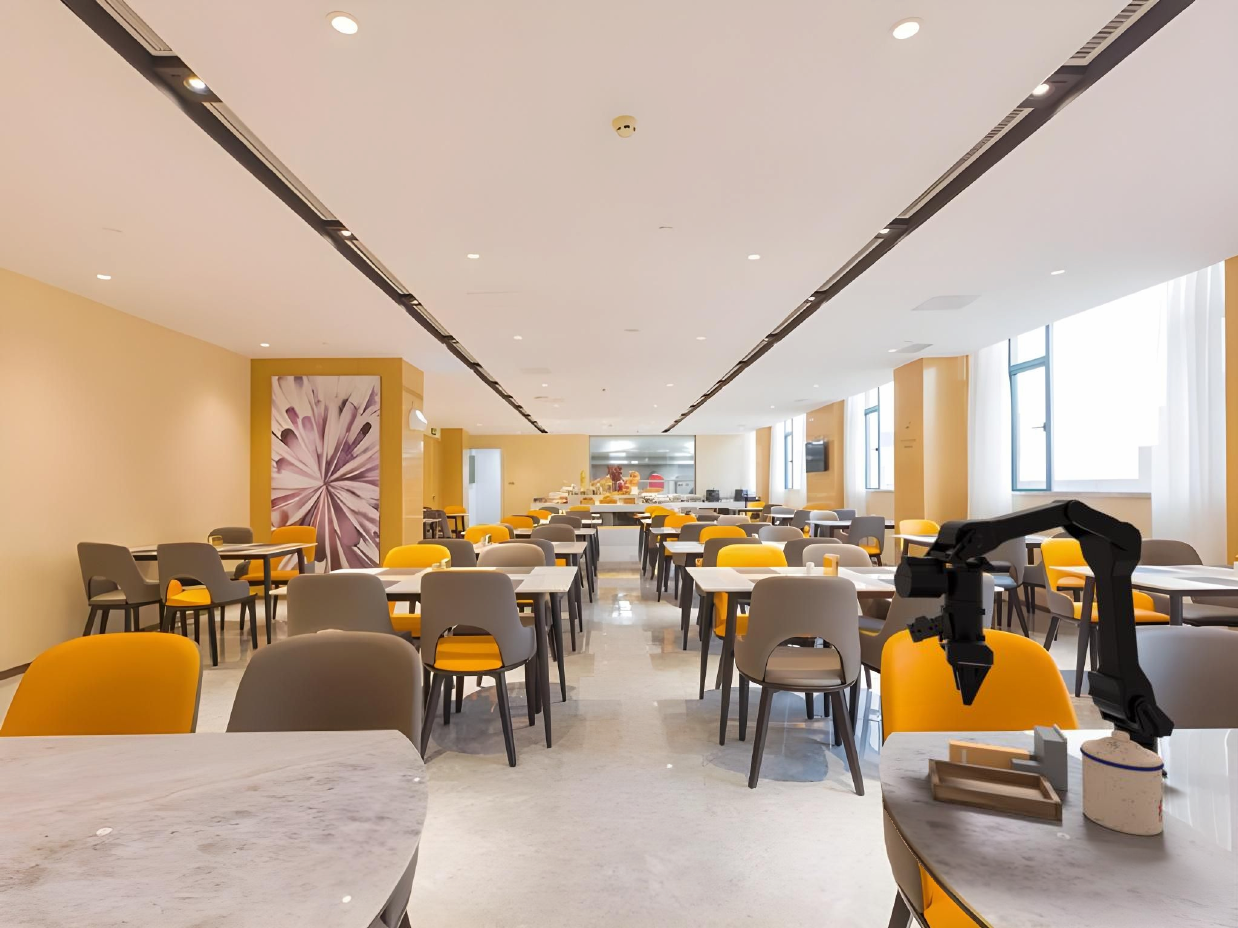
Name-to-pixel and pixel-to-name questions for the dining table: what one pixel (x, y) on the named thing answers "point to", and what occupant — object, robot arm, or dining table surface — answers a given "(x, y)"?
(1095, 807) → the teacup with lid
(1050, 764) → the grey slotted holder
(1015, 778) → the tray
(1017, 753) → the tan elongated block
